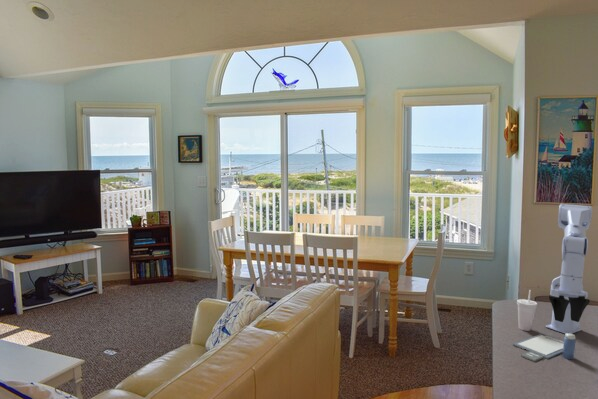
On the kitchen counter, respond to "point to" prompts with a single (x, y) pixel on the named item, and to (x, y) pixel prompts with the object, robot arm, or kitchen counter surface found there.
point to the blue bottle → (569, 346)
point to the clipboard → (542, 345)
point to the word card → (532, 356)
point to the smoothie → (526, 312)
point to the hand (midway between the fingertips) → (567, 321)
